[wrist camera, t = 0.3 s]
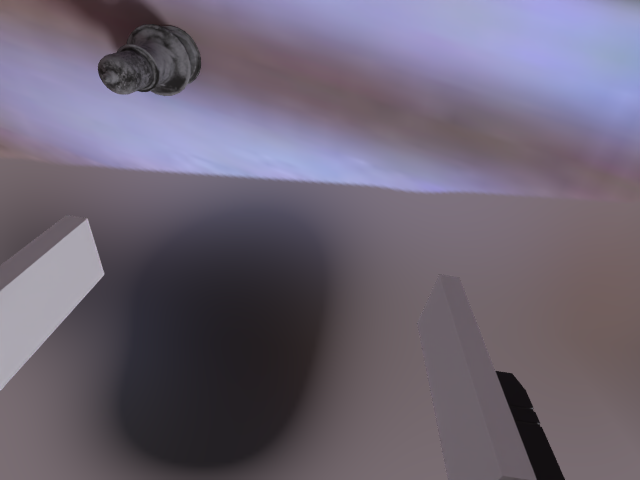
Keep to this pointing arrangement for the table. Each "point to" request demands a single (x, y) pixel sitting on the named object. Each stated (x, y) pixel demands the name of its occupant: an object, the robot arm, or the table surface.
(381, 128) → the table surface
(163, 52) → the dark rounded upright piece
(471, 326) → the robot arm
